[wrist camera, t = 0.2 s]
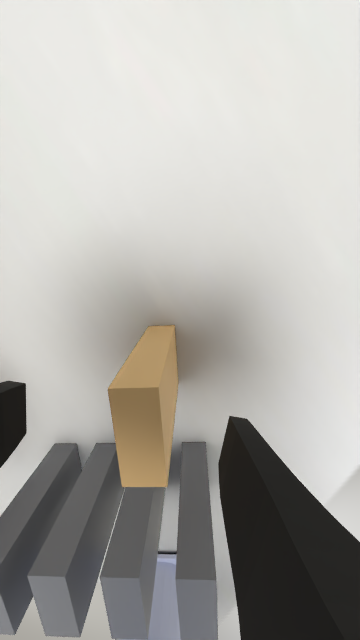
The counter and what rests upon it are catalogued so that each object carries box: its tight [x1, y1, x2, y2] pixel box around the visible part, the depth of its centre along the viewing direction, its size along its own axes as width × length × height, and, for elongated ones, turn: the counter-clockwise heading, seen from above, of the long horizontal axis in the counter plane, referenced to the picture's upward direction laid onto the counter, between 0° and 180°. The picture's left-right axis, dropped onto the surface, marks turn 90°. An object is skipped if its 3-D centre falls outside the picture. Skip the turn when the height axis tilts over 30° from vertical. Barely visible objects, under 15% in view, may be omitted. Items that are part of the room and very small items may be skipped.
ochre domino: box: [108, 325, 178, 487], centre depth 14 cm, size 5×2×9 cm, turn 3°
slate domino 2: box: [27, 443, 125, 637], centre depth 17 cm, size 5×2×9 cm, turn 3°
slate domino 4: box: [175, 442, 218, 640], centre depth 16 cm, size 5×2×9 cm, turn 3°
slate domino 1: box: [0, 444, 82, 635], centre depth 17 cm, size 5×2×9 cm, turn 3°
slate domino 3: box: [100, 487, 165, 640], centre depth 17 cm, size 5×2×9 cm, turn 3°
